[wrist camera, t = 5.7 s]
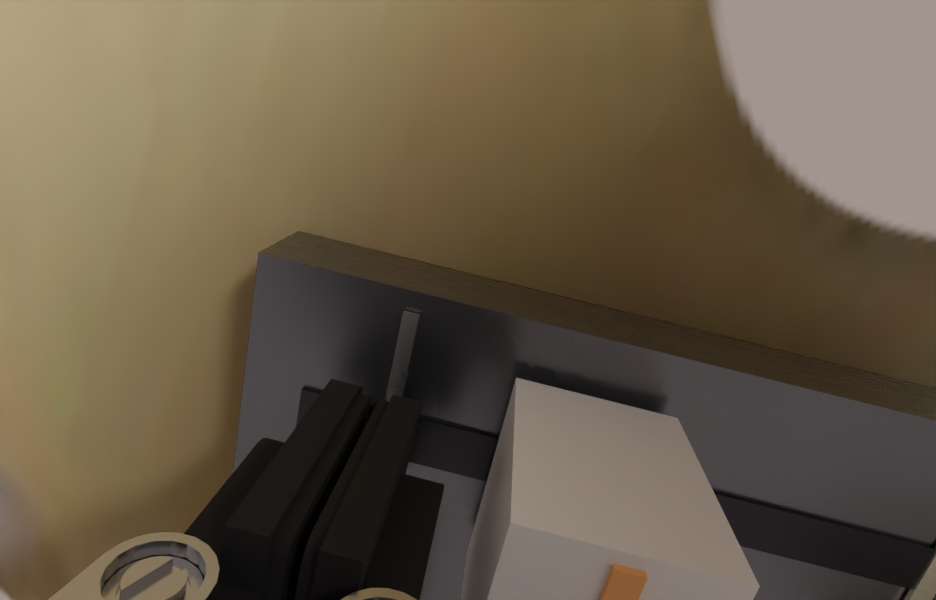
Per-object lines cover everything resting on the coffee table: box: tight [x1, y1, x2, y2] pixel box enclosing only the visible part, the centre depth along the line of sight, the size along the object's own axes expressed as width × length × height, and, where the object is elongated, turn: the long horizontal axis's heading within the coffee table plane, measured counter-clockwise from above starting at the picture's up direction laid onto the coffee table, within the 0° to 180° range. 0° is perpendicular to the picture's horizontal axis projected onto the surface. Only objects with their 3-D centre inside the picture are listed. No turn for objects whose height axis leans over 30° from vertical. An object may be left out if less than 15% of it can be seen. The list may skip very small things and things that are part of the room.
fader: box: [461, 378, 760, 600], centre depth 9 cm, size 4×3×4 cm
